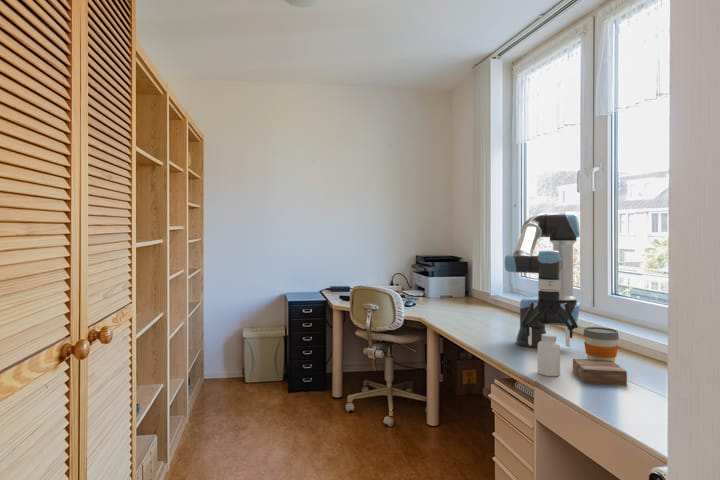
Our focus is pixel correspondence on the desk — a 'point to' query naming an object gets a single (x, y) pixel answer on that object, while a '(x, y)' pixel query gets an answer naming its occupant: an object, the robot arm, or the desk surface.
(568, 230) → the robot arm
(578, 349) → the desk surface
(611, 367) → the walnut base
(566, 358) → the desk surface
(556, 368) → the pill bottle
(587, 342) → the reusable coffee cup
